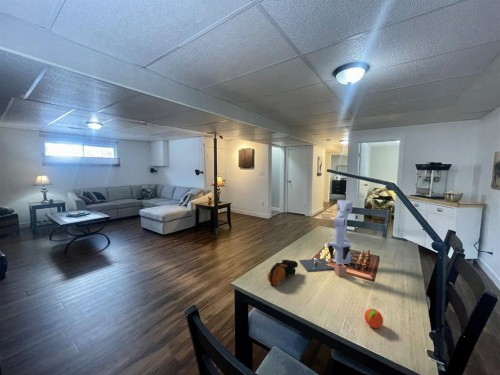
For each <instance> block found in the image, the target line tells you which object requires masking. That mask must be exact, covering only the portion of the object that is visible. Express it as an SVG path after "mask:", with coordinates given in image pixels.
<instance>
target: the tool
mask: <svg viewBox="0 0 500 375" xmlns="http://www.w3.org/2000/svg"><path fill="white" fill-rule="evenodd" d="M298 264H299V263H298V262H297V261H296V260H289V259H282V260H281V262H276V263H275V264H273V265H272V266H271V268H270V270H269V272H268V273H267V281H268V282H269V283H270V285H273V286H274V287H277V286H278V285H279V282H281V281H282V280H284V278H290V277H291V276H293V275H295V274H296V271H297V269H296V268H298V267H299V265H298Z"/></svg>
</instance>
